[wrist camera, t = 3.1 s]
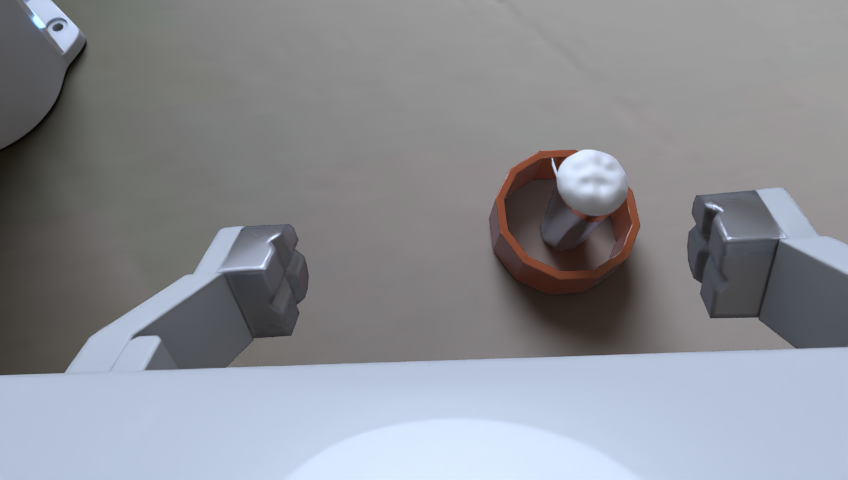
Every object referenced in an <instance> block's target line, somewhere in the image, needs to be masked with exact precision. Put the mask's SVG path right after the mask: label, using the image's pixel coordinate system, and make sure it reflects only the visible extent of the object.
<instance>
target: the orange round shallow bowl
mask: <svg viewBox="0 0 848 480" xmlns="http://www.w3.org/2000/svg"><path fill="white" fill-rule="evenodd" d="M577 152H579V151H577V150H555V151H539V152H537V153H535V154H534V155H532V156H530V157H529V158H527V159H525V160H524V161H522V162H520V163H519V164H517V165H515V166H514V167H512V168H511V169H510V170H509V172H508V174H507V176H506V178H505V180H504V182H503V184H502V186H501V188H500V190H499V192H498V194H497V196H496V199H495V202H494V205H493V208H492V211H491V214H490V217H489V221H490V229H491V238H492V246H493V251H494V252H495V254H496V255H497V256H498V258H499V259H500V260H501V262H502V263H503V264H504V266H505V267H506V268H507V269H508V271H509V272H510V273H511V275H512V276H513V277H514V279H516V280H518V281H520V282H523V283H525V284H527V285H529V286H531V287H533V288H535V289H538V290H540V291H542V292H544V293H546V294H567V293H584V292H586V291H588V290H589V289H590V288H592V287H593V286H595V285H596V284H598V283H599V282H601V281H602V280H604V279H605V278H606V277H608V276H609V275H611V274H612V273H613V272H614V271H615V270H616V269H617V268H618V267H619V266H620V265H621V264H622V263H623V262H624V261H625V260H626V259H627V258H628V257H629V254H630V251H631V249H632V246H633V244H634V241H635V238H636V236H637V233H638V231H639V228H640V222H639V218H638V213H637V209H636V204H635V200H634V195H633V192H632V190H631V189H630V188H629V187H628V193H627V197H626V199H625V200H624V202H623V203H622V204H621V206H620V207H619V208H618V209H616V210H615V211H614V212H613V213H612V214H611V215H610V216H611V221H612V226H613V231H614V236H615V241H616V243H615V245H614V248H613V250H612V253H611V255H610V258H609V260H608V261H607V262H605V263H604V264H602V265H601V266H599V267H598V268H596V269H595V270H581V271H562V272H561V271H559V270H556V269H554V268H552V267H550V266H548V265H545V264H543V263H541V262H539V261H537V260H535V259H532V258H530V257H529V256H528V255H527V254H526V253H525V251H524V250H523V249H522V247H521V246H520V245H519V244H518V242H517V241H516V240H515V238H514V237H513V236H512V235H511V233H510V232H509V231H508V226H507V218H506V210H505V202H506V200H507V198H508V196H509V194H511V193H512V192H514V191H515V190H517V189H519V188H520V187H522V186H524V185H525V184H527V183H529V182H530V181H532V180H542V179H556V175H555V173H554V170H553V167H552V164H551V160H552V158H553V161H554V164H555V167H556V169H557V172H558V170H559V167H560V165H561V164H562V162H563V161H564V160H565V159H566V158H567V157H569V156H571V155H573V154H575V153H577Z"/></svg>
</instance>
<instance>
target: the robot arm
mask: <svg viewBox="0 0 848 480" xmlns="http://www.w3.org/2000/svg"><path fill="white" fill-rule="evenodd" d="M60 30H61V31H60ZM84 44H85V36H84V34H83V33H82V32H81V31H80V30H79V28H78V27H77V26H76V25H75V24H74V23H73V22H72V21H71V20H70V19H69V18H68V17H67V16H66V15H65V14H64V13H63V12H62V11H61V10H60V9H59V8H58V7H57V6H56V5H55V4H54V3H53V2H52V1H51V0H0V149H2V148H4V147H6V146H8V145H10V144H12V143H13V142H15V141H17V140H18V139H20V138H21V137H23V136H24V135H25V134H27V133H28V132H29V131H30V130H32V129H33V128H34V127H35V126H36V125H37V124H38V123H39V122H40V121H41V120H42V119H43V118H44V117H45V115H46V114H47V113H48V112H49V110H50V109H51V107H52V106H53V104H54V103H55V101H56V99H57V97H58V95H59V92H60V90H61V87H62V83H63V79H64V76H65V72H66V70H67V68H68V66H69V64H70V63H71V62H72V61H73V60H74V58H75V57H76V56H77V55H78V53H79V52H80V51H81V49H82V48H83V46H84ZM692 215H693V217H694V220H695V222H696V225H695V226H694V227H693V228H692V229H691V230H690V231H689V235H688V244H687V250H688V262H689V266H690V270H691V272H692V275H693V278H694V279H696V280H697V281H699V282H701V283H702V286H701V292H700V295H701V297H702V299H703V302H704V304H705V306H706V309H707V311H708V313H709V316H710V318H748V317H759V320H760V321H761V322H763V323H764V324H765V325H767V326H768V327H769V328H770V329H772V330H773V331H774V332H776V333H777V334H778V335H779V336H781V337H782V338H783V339H785V340H786V341H787V342H788V343H790V344H791V345H792V346H794V347H795V348H796V349H773V350H742V351H713V352H683V353H653V354H624V355H594V356H564V357H535V358H505V359H475V360H444V361H414V362H384V363H354V364H324V365H294V366H264V367H234V368H226V367H227V366H228V365H229V364H230V363H231V362H232V361H233V360H234V359H235V358H236V357H237V356H238V355H239V354H240V353H241V352H242V351H243V350H244V349H245V348H246V347H247V346H248V345H249V344H250V343H251V342H252V341H253V338H263V337H278V336H291V335H292V333H293V330H294V327H295V324H296V321H297V319H298V316H299V310H298V307H297V304H298V303H299V302H301V301H302V300H303V299H304V298H305V296H306V293H307V290H308V278H309V275H308V269H307V264H306V261H305V258H304V256H303V255H302V254H301V253H299V252H298V251H297V250H296V249H295V247H296V245H297V242H298V237H297V235H296V232H295V229H294V227H292V226H291V225H290V224H279V225H259V226H246V227H244V226H240V227H227V228H223V229H221V230H219V232H218V234H217V235H216V237H215V239H214V240H213V242H212V244H211V245H210V247H209V249H208V250H207V252H206V253H205V255H204V257H203V258H202V260H201V262H200V263H199V265H198V267H197V268H196V270H195V272H194V273H193V275H185V276H184V277H182V278H181V279H179V280H178V281H176V282H175V283H173V284H171V285H170V286H168V287H167V288H165V289H164V290H162V291H161V292H159V293H157V294H156V295H154V296H153V297H151V298H150V299H148V300H147V301H145V302H143V303H142V304H140V305H139V306H137V307H136V308H134V309H133V310H131V311H129V312H128V313H126V314H125V315H123V316H122V317H120V318H119V319H117V320H116V321H114V322H112V323H111V324H109V325H108V326H106V327H105V328H103V329H102V330H100V331H98V332H97V333H95V334H94V335H92V336H91V337H90V338H89V339H88V341H87V342H86V343H85V345H84V346H83V347H82V349H81V350H80V352H79V353H78V354H77V356H76V357H75V359H74V360H73V361H72V363H71V364H70V366H69V367H68V368H67V370H66V371H65V373H55V374H25V375H0V480H848V245H847V244H845V243H843V242H841V241H838V240H836V239H834V238H832V237H821V236H820V235H819V234H818V232H817V231H816V230H815V228H814V227H813V226H812V224H811V223H810V222H809V220H808V219H807V218H806V216H805V215H804V214H803V212H802V211H801V210H800V208H799V207H798V205H797V204H796V203H795V201H794V200H793V199H792V197H791V196H790V195H789V193H788V192H787V191H786V189H783V188H781V187H777V188H768V189H758V190H752V191H742V192H730V193H719V194H707V195H696V197H695V200H694V202H693V208H692Z"/></svg>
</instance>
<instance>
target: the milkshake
mask: <svg viewBox="0 0 848 480" xmlns="http://www.w3.org/2000/svg"><path fill="white" fill-rule="evenodd" d="M551 164H552V167H553V170H554V173H555V175H556V180H555V184H554V187H553V191H552V195H551V198H550V201H549V204H548V207H547V210H546V213H545V215H544V218H543V221H542V224H541V227H540V229H541V233H542V237H543V240H544V241H545V242H546V243H547V244H548V245H550V246H551V247H552V248H553V249H556V250H564V251H568V250H570V249H572V248H574V247H576V246H578V245H579V244H580V243H582V242H583V241H584V240H585V239H586V238H587V237H588V236H589V235H590V234H591V233H592V232H593V231H594V230H595V229H596V228H597V227H598V226H599V225H600V224H601V223H602V222H603V221H604V220H605V219H606V218H607V217H608V216H610V215H611V214H612V213H613V212H614V211H615V210H616V209H618V208H619V207H620V206H621V204H622V203H623V202H624V200H625V199H626V197H627V193H628V180H627V176H626V174H625V172H624V170H623V168H622V167H621V165H620V164H619V163H618V161H617V160H616V159H615V158H614V157H612V156H610V155H609V154H606V153H603V152H599V151H595V150H582V151H579V152H577V153H575V154H573V155H571V156H569V157H567V158H566V159H565V160H564V161H563V162H562V164H561V165H560V167H559V170H558V172H557V169H556V167H555V164H554V161H553V158H552V160H551Z"/></svg>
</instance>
